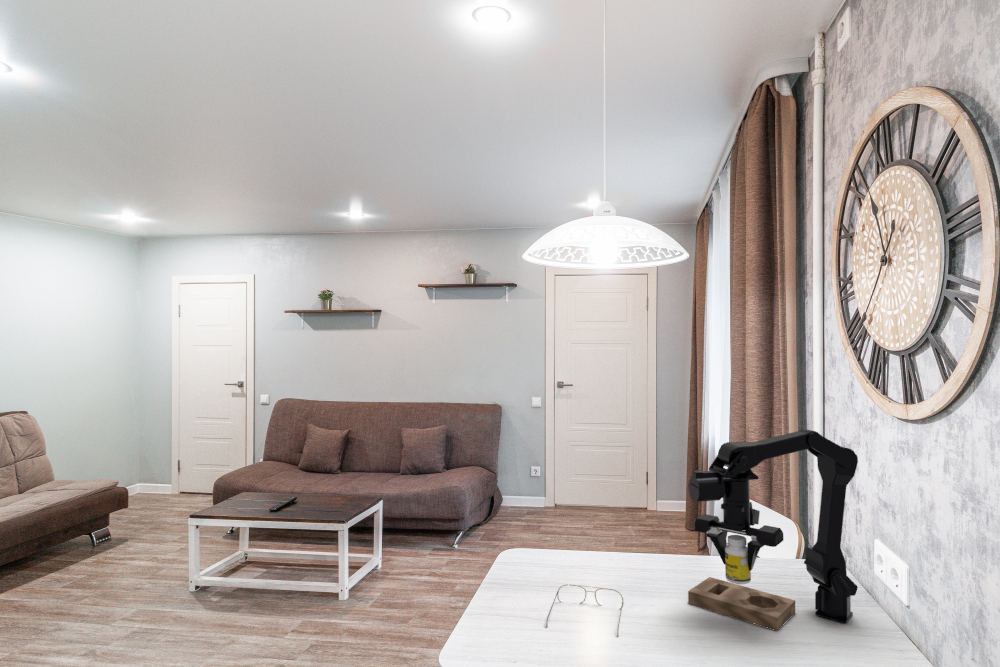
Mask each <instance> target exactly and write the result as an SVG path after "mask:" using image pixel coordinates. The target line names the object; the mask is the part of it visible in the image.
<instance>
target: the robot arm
mask: <svg viewBox="0 0 1000 667" xmlns="http://www.w3.org/2000/svg"><path fill="white" fill-rule="evenodd" d="M805 450H806V451H808V452H809V453H810V454H812V455H813V456H814V457H815V458H816V459H817V460H816V461H817V469H818V472H819V475H820V477H821V480H822V487H821V488H822V489H821V495H820V496H821V497H820V508H819V517H818V518H819V519H818V528H817V529H818V530H817V536H816V537H817V538H816V542H815V544H814V545H813V546H812V547H809V546H808V547H807V546H806V548H805V560H804V562H803V563H804V564H803V565H805V567H806V571H807V572H808V574H809V575H810V576H811V578H812V580H813V582H814V583H815V584H817V585H818V586H817V590H816V591H815V593H814V598H815V599H814V602H815V604H814V608H815V610H816V611H815V615H816V616H818V617H821V618H825V619H828V620H832V621H834V622H835V621H836V622H840V623H841V624H842V623H843V624H847V623H848V622H849V620H850V619H851V618H852V616H854V612H852V610H851V607H852V606H851V602H852V601H851V597H852V596H856V594H857V590H858V585H857V584H856V583H855V582H854V581H853V580H852V579H851V578H850V577H849V576H848V575H847V561H846V560H845V559H846V558H845V556H844V553H843V551H842V548H841V546H842V536H843V535H842V534H843V525H844V515H845V514H844V512H845V503H846V493H847V486H848V485H849V483H850V482H851V481H852V480H853V478H854V477H855V474H856V471H857V467H858V464H859V461H858V460H859V459H858V458H859V457H858V455H857V454H856V452H855V451H854V450H853V449H851V448H848V447H845V446H841V445H840V444H838V443H836V442H833V440H832V441H831V440H830V439H828V438H826V437H824V436H823V435H822V434H820V433H819V432H818V431H815V430H811V429H807V428H802V429H799V430H798V431H793V432H790V433H786V434H782V435H781V434H780V435H777V436H773V437H769V438H765V439H762V440H757V441H729V442H728V441H727V442H724V443H722V444H721V445H720V448H719V449H718V451H717V452H718V453H717V455H716V457H715V458H714V460H713V461H712V463H711V464H710V466H709V468H708V470H702V471H701V470H692V475H691V476H690V477H689V481H688V484H687V487H688V488H687V489H688V494H689V496H690V498H691V501H693V502H695V503H696V502H697V503H701V502H712V501H713V502H715V501H721V499H722V503H721V504H720V509H721V510H722V511H723V512H722V513H723V520H722V521H720V518H719V517H718V516H719V515H718V516H717V515H711V514H706V513H703V514H702V515H700V516H698V517H695V519H694V520H693V531H695V532H698V533H702V534H705V537H707V538H709V539H710V541H711V542H712V544H713V545H714V547H715V549H716V551H717V553H718V555H719V557H720V559H721V561H722V563H723V564H724V565H725V548H726V546H727V545H728V544H727V543H728V542H727V539H728V533H731V534H732V533H733V534H735V535H740V536H746V537H750V539H751V540H750V541H749V542H746V547H747V549H748V567H749V570H750V571H752V570H753V568H754V565H755V562H756V561H757V560H756V559H757V558H758V554H759V553H760V550H761V549H762V548H763V547H764V546H767V547H773V548H774V547H777V546H778V545H779V544H781V543H782V542H784V532H783V530H782V529H781V527H776V526H771V525H762V526H761V527H760V528H755V527H751V526H754V525H759V522H760V511H761V510H758V509H755V508H753V503H752V501H751V500H750V481H754V480H759V476H758V475H757V474H755V472H753V470H752V469H753V468H755V467H758V466H759V465H760V464H761V463H762V462H764V461H766V460H769V459H774V458H778V457H781V456H786V455H789V454H790V455H791V454H793V453H796V452H801V451H805ZM725 467H727V468H725Z"/></svg>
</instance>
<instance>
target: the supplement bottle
mask: <svg viewBox="0 0 1000 667" xmlns="http://www.w3.org/2000/svg"><path fill="white" fill-rule="evenodd" d="M727 543H728V544H727V546H726V548H725V564H724V565H725V568H724V569H725V580H727V582H730V583H733V584H737V585H747V584H749V583H750V582H751V580H752V579H751V578H752V572H751V571H752V570H751V571H750V570H749V567H748V549H747V538H746V537H745V535H741V534H731V535H727Z"/></svg>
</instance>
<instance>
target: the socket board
mask: <svg viewBox="0 0 1000 667" xmlns="http://www.w3.org/2000/svg"><path fill="white" fill-rule="evenodd" d="M687 598H688V602H687V603H688V604H689V605H692V606H696V607H699V608H702V609H705V610H708V611H710V612H715V613H718V614H721V615H724V616H727V617H730V616H731V618H734V619H737V620H740V619H741V620H740V621H743V620H744V622H746V621H747V623H750V622H751V623H750V624H753V623H755V624H754V625H756V624H758V625H757V626H759V625H761V626H760V627H762V626H764V628H766V627H768V628H767V629H769V628H771V629H770V630H772V629H774V630H773V631H775V630H778V631H780V629H781V628H782V627H783V626H784V625H785V624H786V623H787V622H788V621H789V620H790V619H791V618H792V617H793V616H795V614H796V600H795V599H791V598H787V597H783V596H781V595H777V594H773V593H769V592H767V591H762V590H758V589H755V588H751V587H747V586H743V585H742V584H735V583H732V582H729V581H725V580H722V579H719V578H714V577H711V576H708V577H707V578H706V579H704V580H703V581H701V582H700V583H698V584H697V585H695V586H694V587H691V589H689V590H688V591H687ZM792 615H793V616H792ZM791 616H792V617H791ZM790 617H791V618H790ZM789 618H790V619H789ZM788 619H789V620H788ZM787 620H788V621H787ZM786 621H787V622H786ZM785 622H786V623H785ZM784 623H785V624H784ZM783 624H784V625H783ZM782 625H783V626H782ZM781 626H782V627H781ZM780 627H781V628H780ZM779 628H780V629H779Z"/></svg>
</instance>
